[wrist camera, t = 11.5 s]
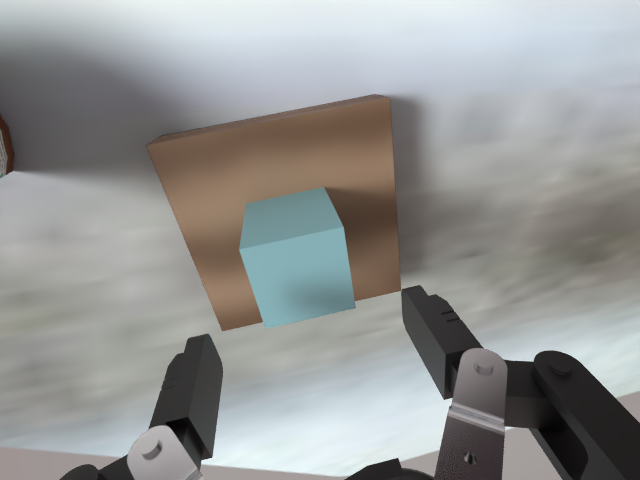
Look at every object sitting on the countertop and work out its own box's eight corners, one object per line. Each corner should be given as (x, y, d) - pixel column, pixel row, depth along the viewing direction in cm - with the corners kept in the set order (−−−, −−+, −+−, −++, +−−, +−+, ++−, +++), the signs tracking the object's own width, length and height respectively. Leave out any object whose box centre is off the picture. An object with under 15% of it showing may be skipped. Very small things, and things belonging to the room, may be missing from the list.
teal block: (245, 203, 21) (239, 249, 15) (324, 187, 21) (343, 226, 16) (265, 269, 23) (265, 329, 18) (335, 253, 23) (355, 307, 18)
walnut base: (161, 135, 21) (146, 145, 18) (374, 94, 22) (389, 97, 19) (226, 306, 28) (222, 331, 25) (388, 270, 28) (401, 290, 26)
